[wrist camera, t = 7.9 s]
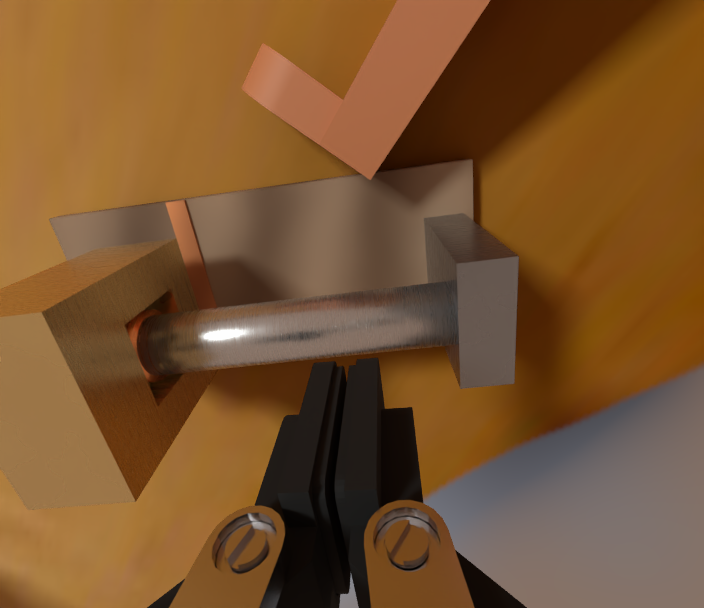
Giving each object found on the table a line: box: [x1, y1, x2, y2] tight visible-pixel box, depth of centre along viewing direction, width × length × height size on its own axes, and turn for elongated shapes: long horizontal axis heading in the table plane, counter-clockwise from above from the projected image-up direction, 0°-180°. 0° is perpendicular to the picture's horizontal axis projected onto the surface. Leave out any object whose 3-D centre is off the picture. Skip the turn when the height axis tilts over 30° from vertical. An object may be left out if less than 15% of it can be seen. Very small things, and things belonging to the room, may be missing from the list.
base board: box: [49, 159, 473, 310], centre depth 22 cm, size 22×10×1 cm, turn 98°
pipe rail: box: [125, 213, 519, 389], centre depth 18 cm, size 21×5×8 cm, turn 98°
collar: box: [0, 238, 218, 510], centre depth 16 cm, size 4×7×8 cm, turn 8°
